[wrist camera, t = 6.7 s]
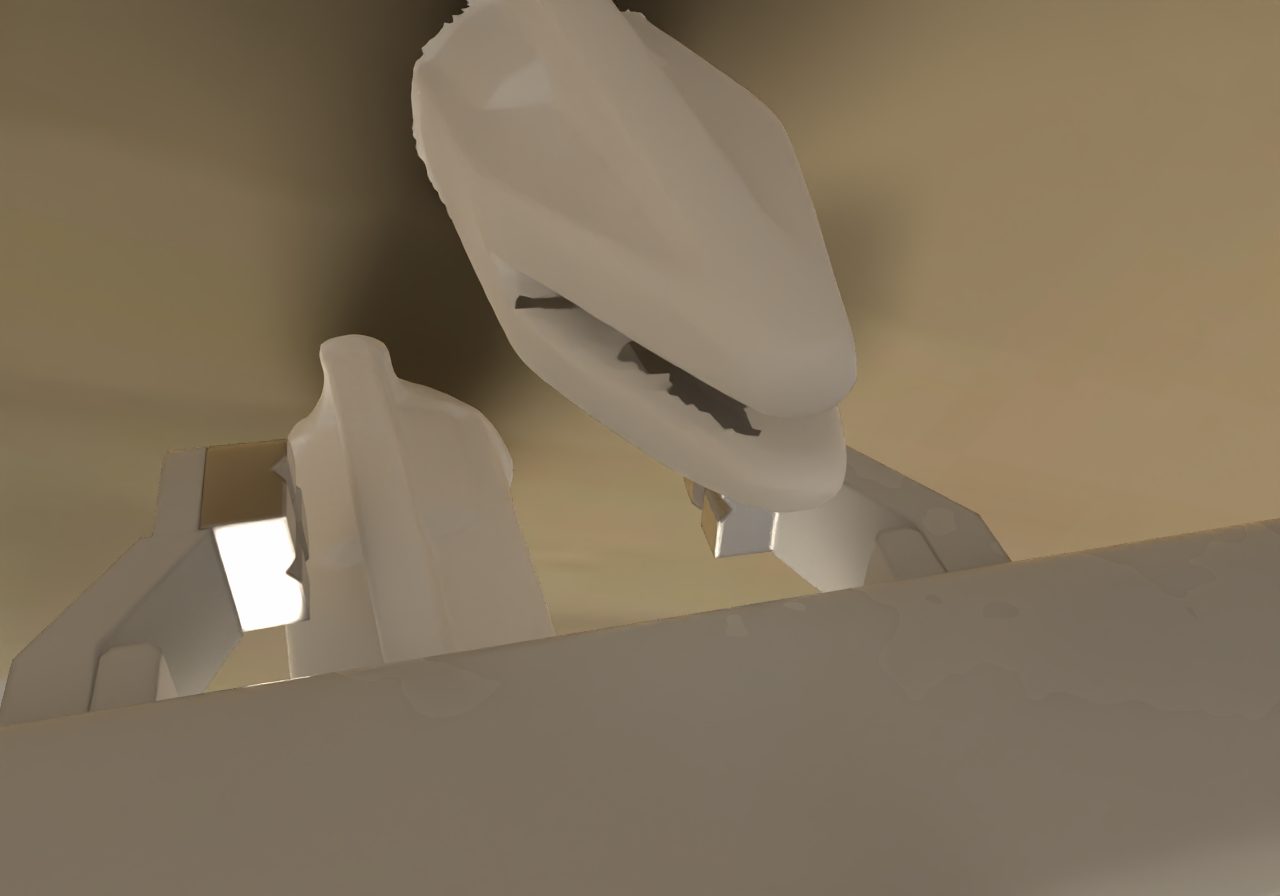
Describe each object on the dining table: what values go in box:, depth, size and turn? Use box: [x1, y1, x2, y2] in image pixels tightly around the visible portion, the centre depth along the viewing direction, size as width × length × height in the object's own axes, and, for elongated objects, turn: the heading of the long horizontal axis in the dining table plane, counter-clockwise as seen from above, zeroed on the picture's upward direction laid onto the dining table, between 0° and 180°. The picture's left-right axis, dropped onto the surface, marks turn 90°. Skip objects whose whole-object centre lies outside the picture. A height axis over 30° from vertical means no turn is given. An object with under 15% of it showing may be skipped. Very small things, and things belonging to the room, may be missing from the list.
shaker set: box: [285, 0, 857, 679], centre depth 14 cm, size 12×4×11 cm, turn 152°
